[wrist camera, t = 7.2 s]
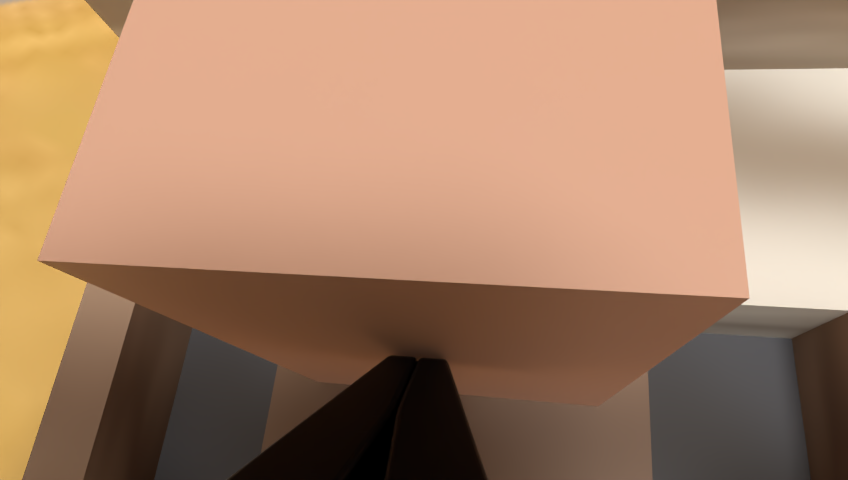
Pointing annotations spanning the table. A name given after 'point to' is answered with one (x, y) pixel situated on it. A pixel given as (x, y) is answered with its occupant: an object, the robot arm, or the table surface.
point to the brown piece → (534, 420)
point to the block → (417, 185)
